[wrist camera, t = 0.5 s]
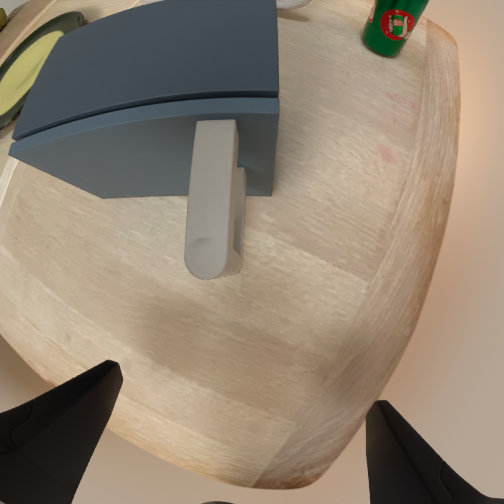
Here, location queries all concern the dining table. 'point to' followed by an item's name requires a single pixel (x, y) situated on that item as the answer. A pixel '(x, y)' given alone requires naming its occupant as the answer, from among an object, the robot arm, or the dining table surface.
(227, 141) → the cabinet door
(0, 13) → the fruit
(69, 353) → the dining table surface
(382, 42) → the soda can
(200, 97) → the cabinet
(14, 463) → the robot arm
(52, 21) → the plate
